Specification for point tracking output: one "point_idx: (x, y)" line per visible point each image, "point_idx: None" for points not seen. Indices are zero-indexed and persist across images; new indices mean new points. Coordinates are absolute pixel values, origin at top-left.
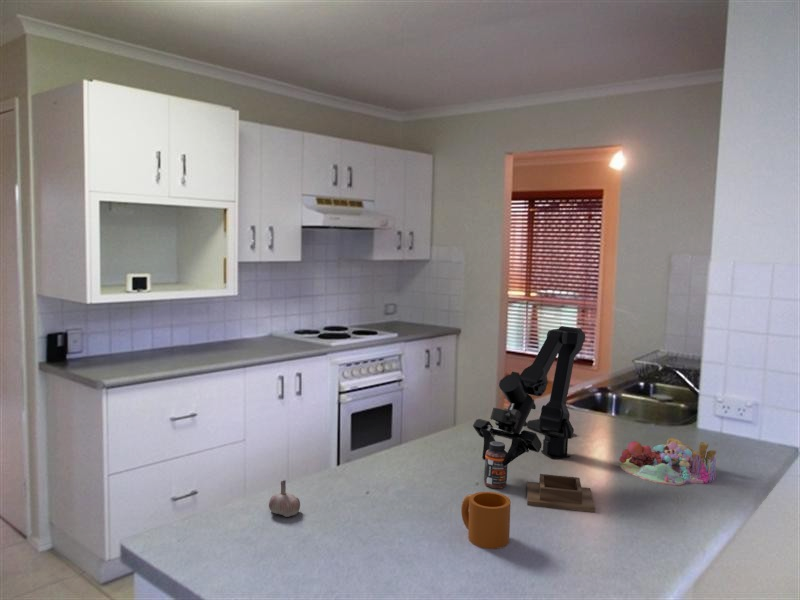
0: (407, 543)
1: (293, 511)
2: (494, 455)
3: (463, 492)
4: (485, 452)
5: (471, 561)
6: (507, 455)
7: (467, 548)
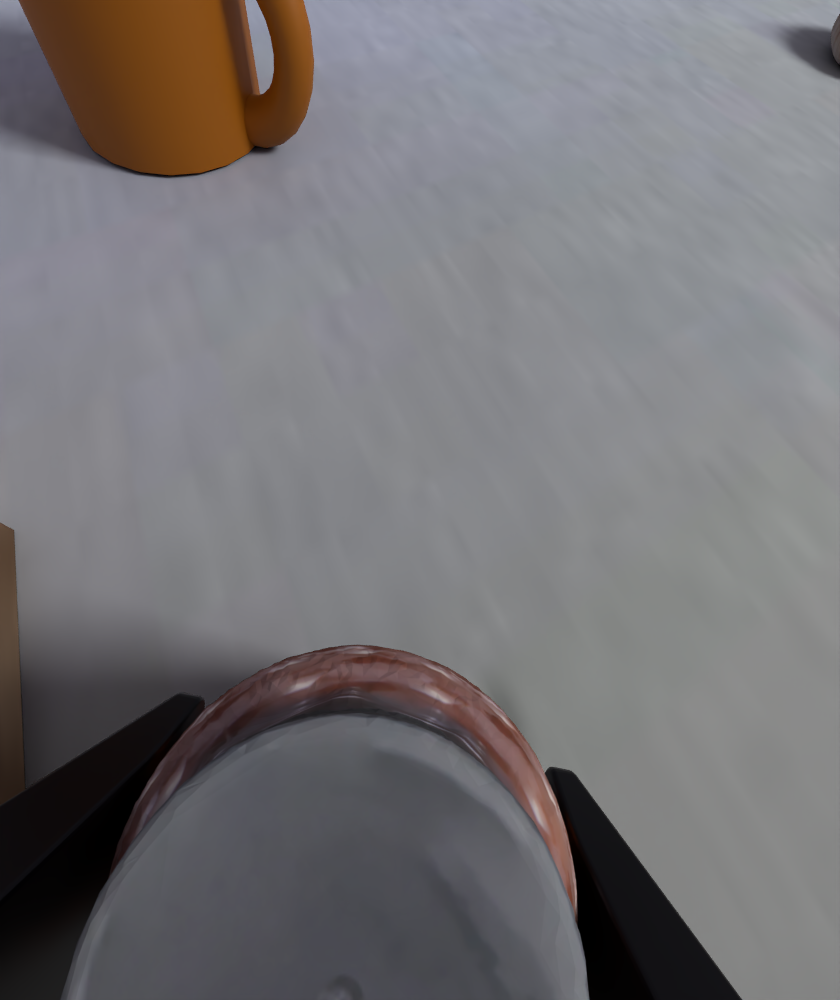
0: (437, 37)
1: (837, 23)
2: (327, 656)
3: (503, 496)
4: (579, 847)
5: None
6: (63, 798)
7: None
